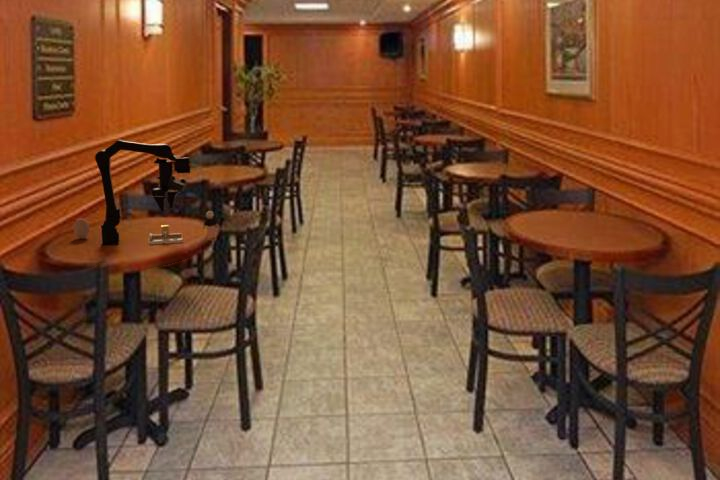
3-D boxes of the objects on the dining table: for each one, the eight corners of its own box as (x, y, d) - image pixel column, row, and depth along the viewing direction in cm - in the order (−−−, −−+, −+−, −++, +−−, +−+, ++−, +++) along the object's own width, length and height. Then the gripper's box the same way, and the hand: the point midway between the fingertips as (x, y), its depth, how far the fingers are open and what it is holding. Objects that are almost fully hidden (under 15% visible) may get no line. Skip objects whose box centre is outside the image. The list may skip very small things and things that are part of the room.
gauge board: (148, 244, 324) (148, 236, 324) (149, 239, 334) (148, 232, 333) (182, 242, 328) (182, 234, 327) (182, 237, 337) (181, 230, 336)
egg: (93, 237, 339) (91, 217, 337) (83, 240, 333) (81, 220, 331) (81, 236, 341) (80, 216, 339) (71, 239, 335) (69, 219, 333)
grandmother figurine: (214, 237, 336) (213, 209, 334) (220, 238, 334) (219, 210, 331) (201, 240, 331) (199, 211, 328) (207, 241, 328) (205, 212, 325)
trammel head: (162, 238, 326) (161, 228, 325) (162, 235, 332) (161, 225, 331) (169, 238, 327) (168, 227, 326) (169, 235, 333) (168, 224, 332)
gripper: (174, 177, 316) (176, 214, 319) (192, 171, 334) (193, 207, 337) (149, 176, 318) (151, 213, 321) (167, 170, 336) (169, 205, 339)
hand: (167, 209), depth 330 cm, fingers open, 9 cm apart
